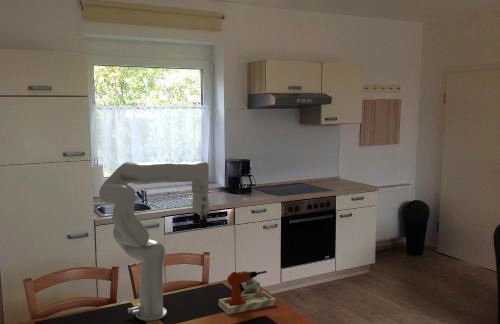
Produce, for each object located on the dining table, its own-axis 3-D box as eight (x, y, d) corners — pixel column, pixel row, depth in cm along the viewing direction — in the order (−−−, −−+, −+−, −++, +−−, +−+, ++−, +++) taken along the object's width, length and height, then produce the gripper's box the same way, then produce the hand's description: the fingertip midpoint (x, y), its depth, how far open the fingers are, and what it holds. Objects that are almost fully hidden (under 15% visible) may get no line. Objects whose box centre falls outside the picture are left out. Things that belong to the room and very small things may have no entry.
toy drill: (271, 299, 202) (267, 266, 200) (230, 308, 197) (226, 275, 195) (267, 295, 207) (264, 263, 205) (227, 304, 202) (223, 272, 200)
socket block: (244, 298, 210) (244, 285, 209) (237, 292, 217) (237, 280, 216) (259, 295, 213) (260, 283, 213) (251, 289, 220) (252, 277, 220)
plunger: (245, 295, 212) (246, 276, 211) (241, 292, 216) (241, 273, 215) (255, 294, 214) (255, 275, 213) (250, 290, 218) (250, 271, 217)
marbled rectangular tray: (227, 314, 192) (228, 308, 192) (218, 305, 201) (218, 299, 201) (275, 304, 203) (275, 298, 202) (264, 296, 212) (264, 291, 211)
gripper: (214, 191, 202) (214, 229, 203) (201, 185, 217) (201, 221, 219) (198, 191, 198) (198, 230, 200) (186, 186, 214) (186, 222, 215)
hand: (199, 225), depth 209 cm, fingers open, 9 cm apart
